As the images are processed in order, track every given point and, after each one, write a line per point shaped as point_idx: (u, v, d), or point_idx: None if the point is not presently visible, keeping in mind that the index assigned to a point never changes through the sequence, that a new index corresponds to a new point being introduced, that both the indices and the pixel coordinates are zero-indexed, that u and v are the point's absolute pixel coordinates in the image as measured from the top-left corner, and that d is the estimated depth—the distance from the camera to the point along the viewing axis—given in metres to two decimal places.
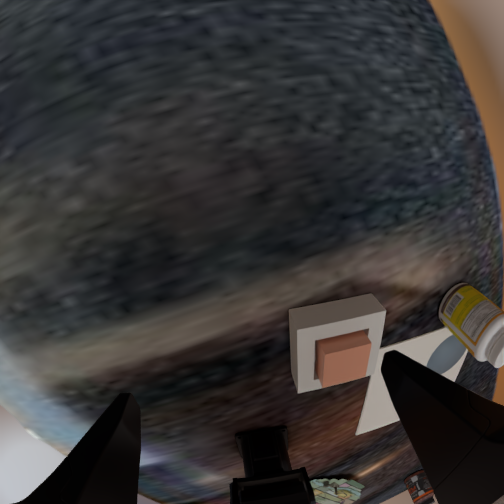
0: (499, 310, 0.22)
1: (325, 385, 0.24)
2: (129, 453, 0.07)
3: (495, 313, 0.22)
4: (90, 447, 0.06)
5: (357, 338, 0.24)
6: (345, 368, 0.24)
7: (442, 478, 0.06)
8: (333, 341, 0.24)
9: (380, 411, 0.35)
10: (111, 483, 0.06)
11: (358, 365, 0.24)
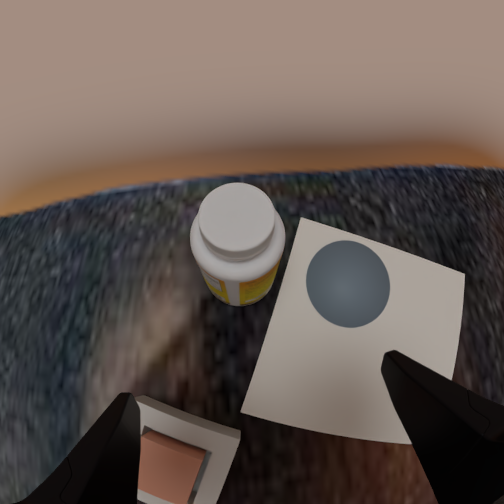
0: None
1: (182, 503, 0.14)
2: (129, 453, 0.07)
3: None
4: (90, 447, 0.06)
5: None
6: (164, 475, 0.15)
7: (442, 478, 0.06)
8: None
9: None
10: (111, 483, 0.06)
11: (171, 461, 0.15)
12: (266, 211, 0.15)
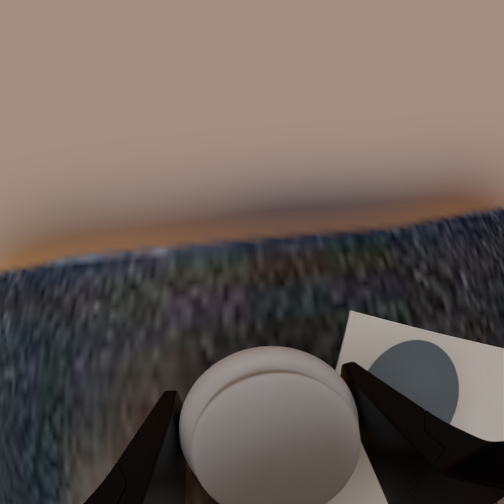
0: None
1: None
2: (178, 453, 0.07)
3: None
4: (141, 450, 0.06)
5: None
6: None
7: (397, 499, 0.06)
8: None
9: None
10: (165, 487, 0.06)
11: None
12: (343, 441, 0.06)
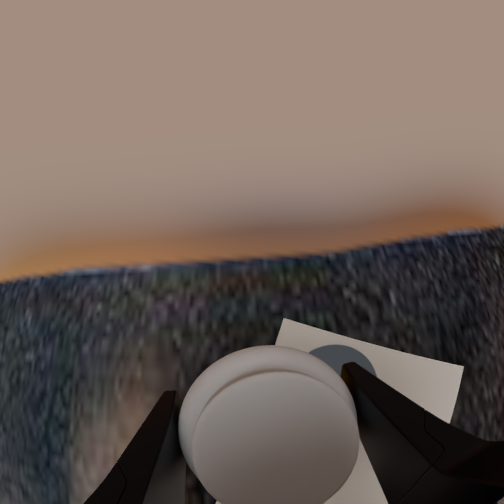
0: None
1: None
2: (178, 453, 0.07)
3: None
4: (141, 450, 0.06)
5: None
6: None
7: (398, 499, 0.06)
8: None
9: None
10: (165, 487, 0.06)
11: None
12: (342, 440, 0.06)
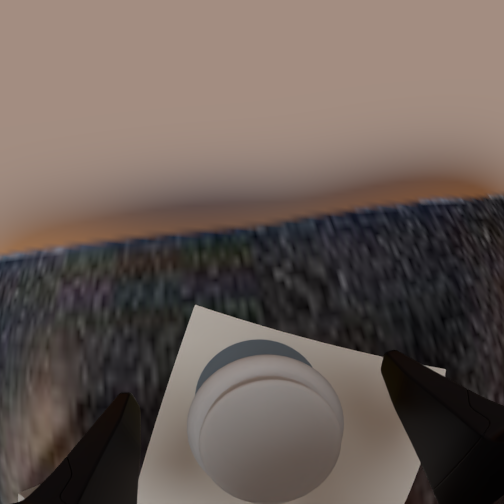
0: None
1: None
2: (129, 453, 0.07)
3: None
4: (90, 447, 0.06)
5: None
6: None
7: (442, 478, 0.06)
8: None
9: None
10: (111, 483, 0.06)
11: None
12: (326, 437, 0.07)
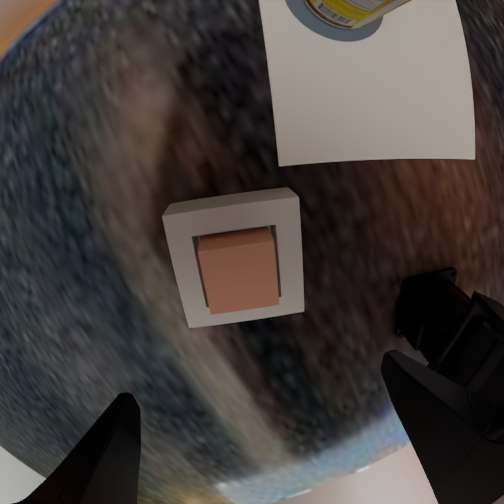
0: None
1: (275, 301, 0.18)
2: (129, 453, 0.07)
3: None
4: (90, 447, 0.06)
5: None
6: (243, 281, 0.17)
7: (442, 478, 0.06)
8: None
9: (435, 121, 0.19)
10: (111, 483, 0.06)
11: (243, 260, 0.17)
12: None
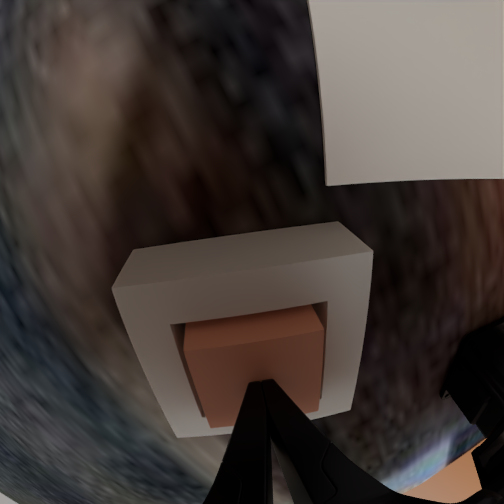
0: None
1: (312, 408, 0.10)
2: (269, 444, 0.08)
3: None
4: (244, 445, 0.07)
5: None
6: None
7: None
8: None
9: None
10: (269, 479, 0.06)
11: (266, 362, 0.09)
12: None
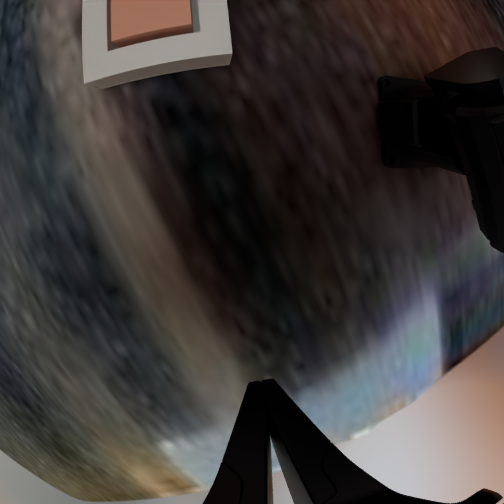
0: None
1: (186, 20, 0.11)
2: (269, 444, 0.08)
3: None
4: (244, 445, 0.07)
5: None
6: (151, 0, 0.11)
7: None
8: None
9: None
10: (269, 479, 0.06)
11: None
12: None
